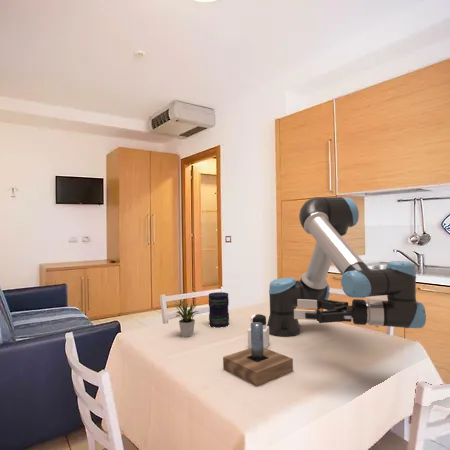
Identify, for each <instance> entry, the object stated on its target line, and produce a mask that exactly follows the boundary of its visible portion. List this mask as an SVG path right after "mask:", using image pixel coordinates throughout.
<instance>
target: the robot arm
mask: <svg viewBox="0 0 450 450" xmlns="http://www.w3.org/2000/svg"><path fill="white" fill-rule="evenodd" d="M359 213H360V212H359V208H358V204H357V203H356V202H355V201H354V199H352V198H350V197H343V196H339V197H331V196H330V197H329V196H327V197H325V196H323V197H321V196H317V197H315V196H314V197H312V198H310V199H308V200H307V201H305V202H304V203H303V205H302V206H301V208H300V211H299V214H298V215H299V216H298V217H299V222H300V225H301V227H302V229H303V230H304V231H305V233H306V234H309V235H311V236H312V237H313V239H314V240H315V244H314V248H313V251H312V253H311V257H310V260H309V264H308V266H307V269H306V271H304V273H302V274H301V277H300V280H296V279H295V278H294V277H281V278H276V279H273V280H272V281H270V283H269V289H268V290H269V291H268V293H269V296H268V297H269V317H268V320H267V323H266V326H269V335H272V336H277V337H294V336H298V335H300V334H302V333H301V332H302V331H301V325H300V322H299V320H307V321H308V320H309V321H316V322H318V323H319V324H328V323H339V322H340V323H342V322H346V323H347V322H349V323H351V322H352V323H353V324H354V325H357V326H358V325H360V326H361V325H362V326H366V325H367V324H368V325H369V326H375V327H376V328H379V326H380V327H393V328H401V329H402V328H403V329H421V328H424V326H425V325H426V322H427V314H426V307H425V305H424V304H423V303H422V302H419V301H417V297H416V296H417V294H416V293H417V291H416V290H417V287H416V285H417V283H416V281H417V279H416V278H417V275H416V272H417V271H416V266H415V264H414V263H413V262H410V261H401V260H390V261H388V262H387V264H386V268H383V269H382V268H381V269H371V268H370V267H368V265H367V264H366V263H365V262H364V260H362V259H361V257H360V256H359V255H358V254H357V253H356V251H355V250H354V248H352V247H351V246H350V244H349V243H348V242H347V241H346V240H345V239H344V236H345V235H347V233H348V230H349V228H353V227H354V226H356V225H357V224H358V221H359V217H360V214H359ZM331 264H333V265H334V266H335V268H336V269H337V270H338V272H339V273H340V274H341V280H340V284H341V287H342V291H343V293H344V294H345V295H346V296H347V297H350V298H353V299H352V300H351V301H352V303H351V305H350V304H349V301H348V302H347V301H337V300H331V299H329V298H330V294H331V292H330V290H331V289H330V284H329V283H328V280H327V275H328V273H329V272H330V271H329V270H330V268H331ZM379 296H386V297H387V300H379V299H368V300H365V299H366V298H370V297H379ZM354 298H356V299H354ZM358 298H359V299H358ZM360 298H362V299H360ZM363 298H364V299H363ZM298 308H299V309H298ZM310 309H311V310H310ZM313 309H316V310H313ZM321 309H322V310H321Z"/></svg>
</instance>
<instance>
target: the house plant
mask: <svg viewBox="0 0 450 450" xmlns="http://www.w3.org/2000/svg"><path fill="white" fill-rule="evenodd" d="M172 301H174V302H175V303H174V305H175V306H174V307H175V308H176V309H177V310H178V311H176V312H175V315H176V316H175V318H178V317H179V318H180V319H179V321H178V324H179V329H180V335H181V336H182V337H185V338H186V337H187V338H189V337H192V336H193V335H194V329H195V323H196V320H195V319H194V316H196V315H198V314H199V312H200V311H198V310H195V311H194V309H195V308H196V307H197V305H198V304H199V303H201V302H202V300H201V301H198V302H197V303H196V304H193V302H194V301H191V304H190V306H189V308H188V305H189V302H190V301H188V300H187V303H186V304H185V303H184V301H183V300H182V299H180V302H181V305H182V306H181V305H180V303H179V302H178V301H177V300H172Z"/></svg>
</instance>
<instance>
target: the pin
mask: <svg viewBox="0 0 450 450" xmlns="http://www.w3.org/2000/svg"><path fill="white" fill-rule="evenodd" d="M250 327H251V359H252V360H253V361H255V362H260V361H262V360H264V347H263V323H260V322H253V323H251V322H250Z"/></svg>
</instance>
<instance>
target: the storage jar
mask: <svg viewBox="0 0 450 450" xmlns="http://www.w3.org/2000/svg"><path fill="white" fill-rule="evenodd" d="M229 302H230V301H229V293H228V292H223V291H222V292H221V291H218V292H211V293H209V294H208V308H209V309H208V310H209V311H208V312H209V314H208V320H209V321H208V322H209V324H208V325H210V326H211V327H210V326H209V327H210V328H214V327H215V328H214V329H217V328H218V329H221V327H223V328H226V326H227V327H228V325H230V312H229V305H230V303H229Z"/></svg>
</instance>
